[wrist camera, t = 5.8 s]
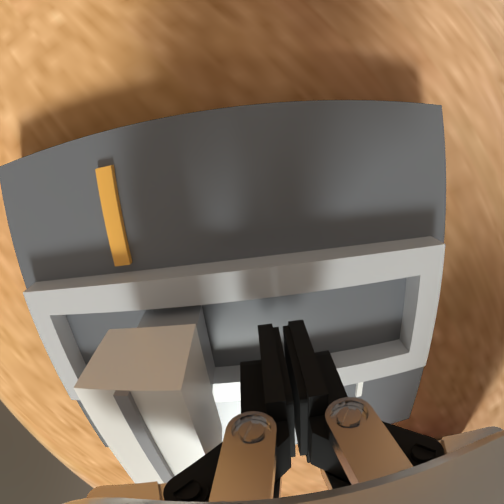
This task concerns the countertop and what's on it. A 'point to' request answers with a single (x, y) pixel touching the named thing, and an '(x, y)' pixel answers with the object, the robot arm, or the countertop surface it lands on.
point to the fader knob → (154, 393)
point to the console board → (244, 237)
